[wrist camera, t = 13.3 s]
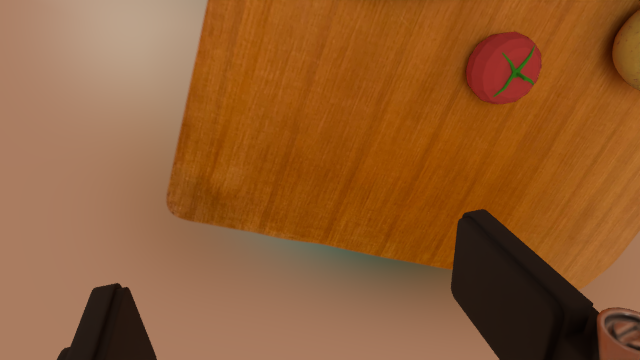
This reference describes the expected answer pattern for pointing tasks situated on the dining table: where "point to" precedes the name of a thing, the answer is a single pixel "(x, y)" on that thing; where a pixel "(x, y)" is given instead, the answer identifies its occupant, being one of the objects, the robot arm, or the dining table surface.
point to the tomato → (503, 68)
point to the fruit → (628, 51)
